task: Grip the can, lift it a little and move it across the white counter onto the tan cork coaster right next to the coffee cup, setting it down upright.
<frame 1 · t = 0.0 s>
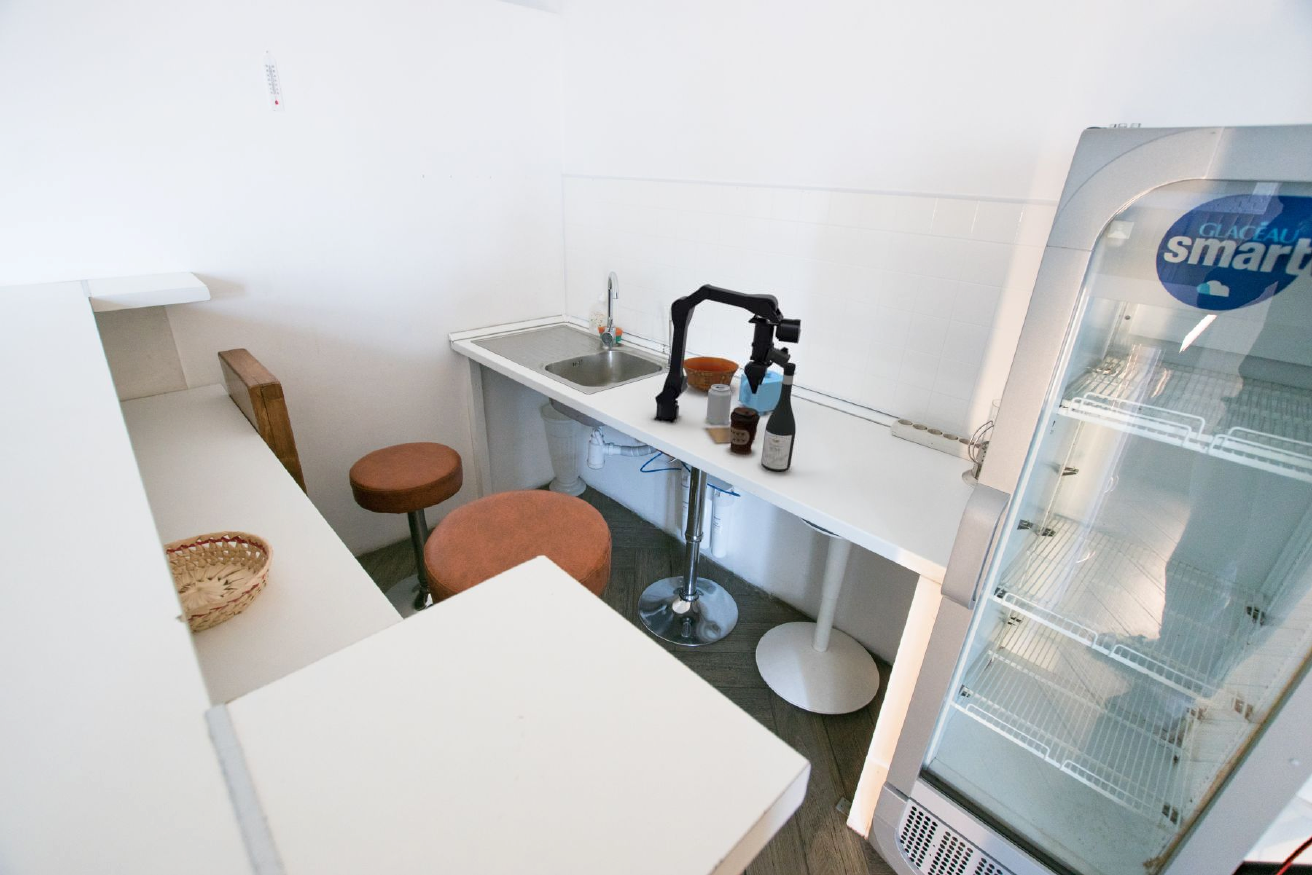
hand: (756, 389, 176), 15 cm above the counter, tool pointing down, fingers open, 9 cm apart
wine bottle: (775, 468, 161), on the counter
teapot: (766, 408, 202), on the counter
coaster: (728, 435, 179), on the counter
coffee cup: (740, 452, 169), on the counter
can: (717, 421, 190), on the counter
bowl: (708, 389, 219), on the counter
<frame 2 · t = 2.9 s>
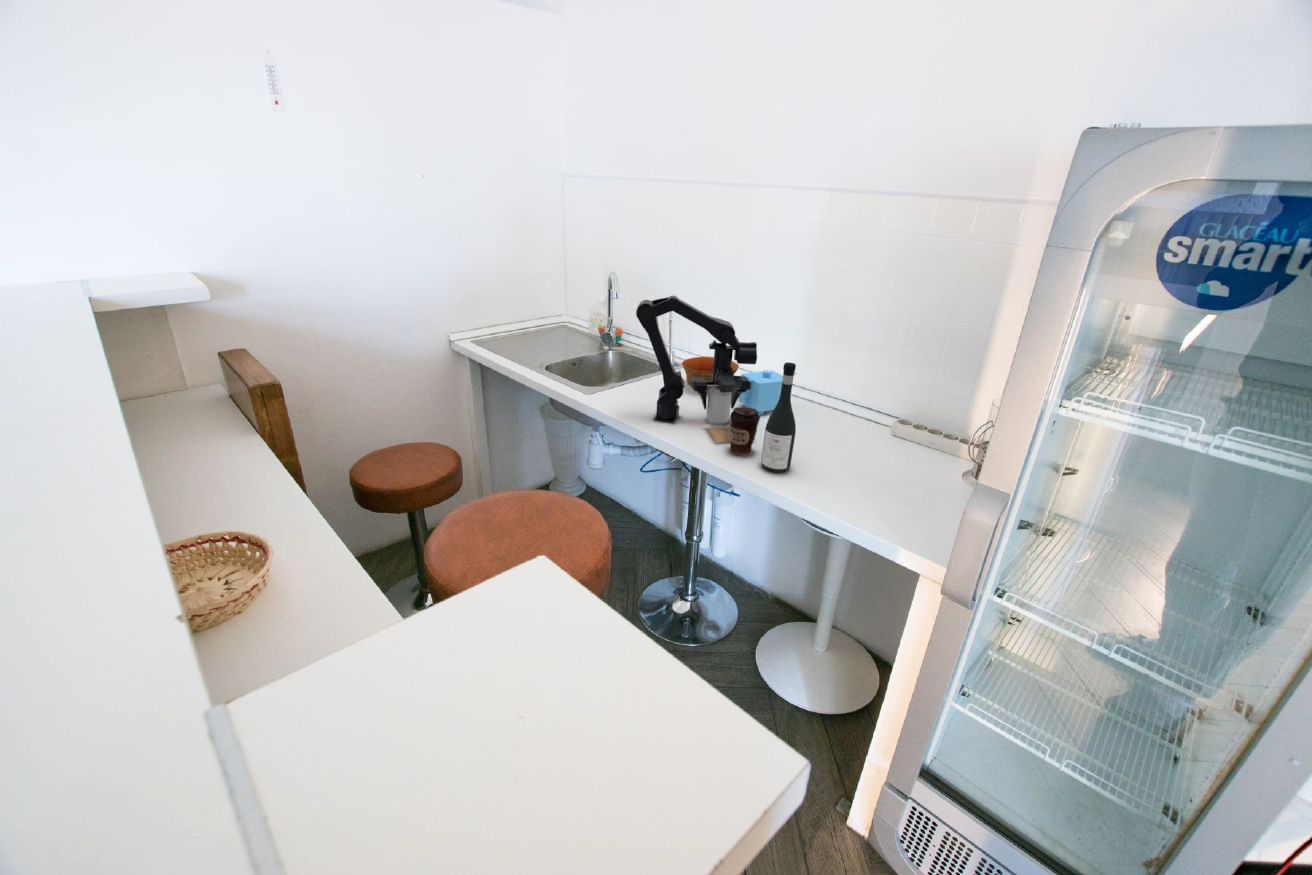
hand: (718, 408, 188), 4 cm above the counter, tool pointing down
can: (717, 421, 190), on the counter, touching gripper
everything else where it was.
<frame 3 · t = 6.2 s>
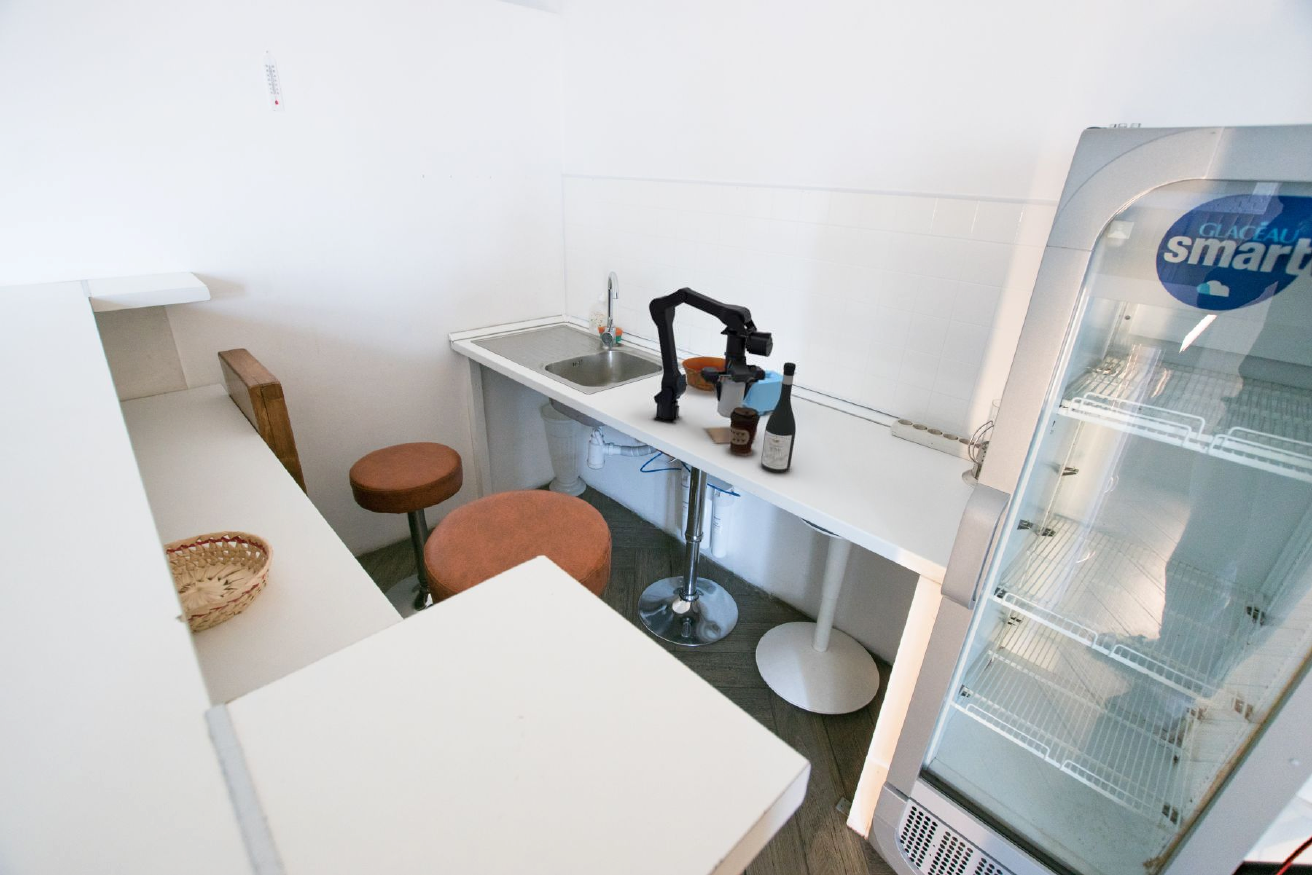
hand: (730, 400, 176), 11 cm above the counter, tool pointing down, fingers closed on can, 7 cm apart
can: (728, 415, 178), point 6 cm above the counter, touching gripper
everything else where it was.
when the fingers open (5 cm above the counter, at t = 9.4 s): can stays where it is, resting on coaster.
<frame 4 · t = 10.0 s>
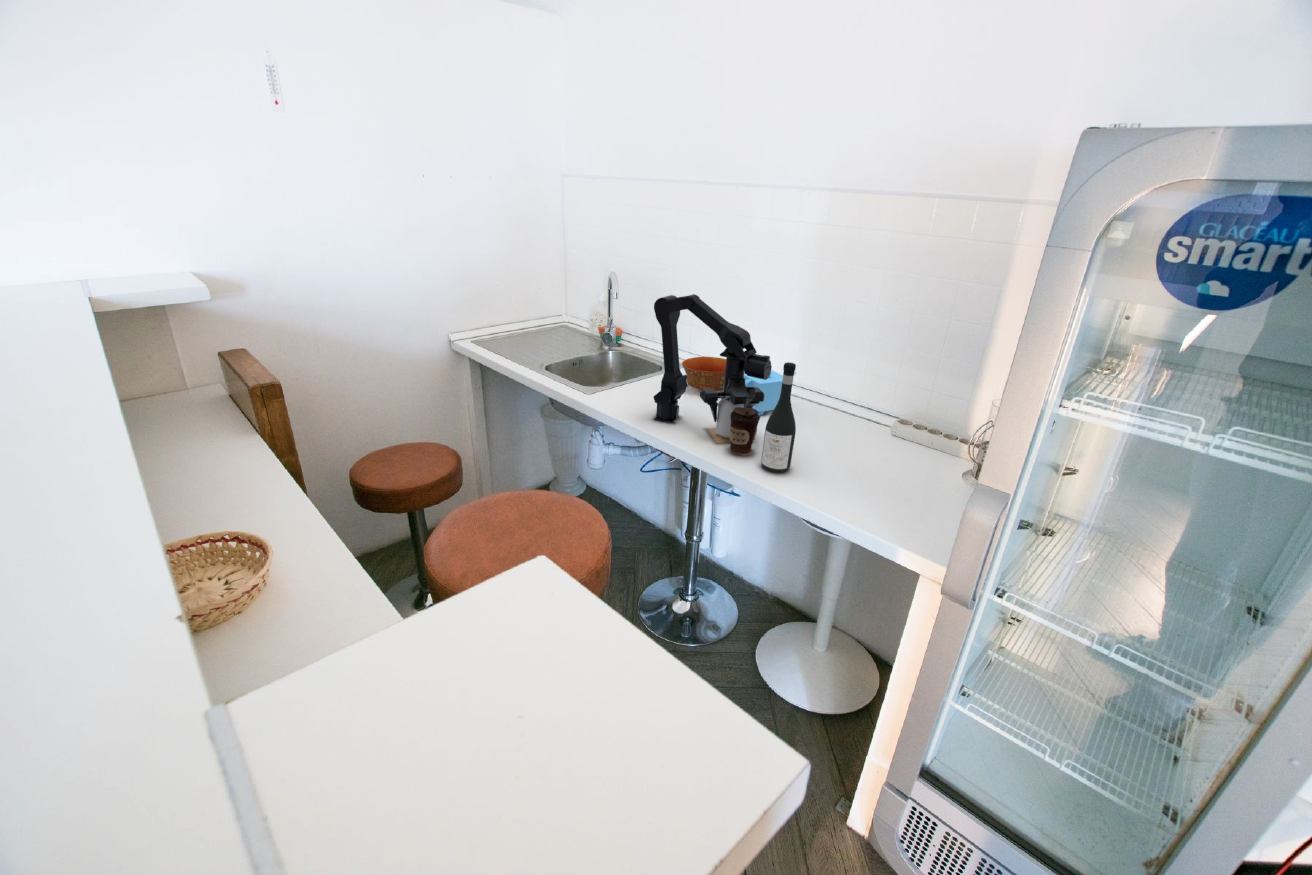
hand: (729, 421, 177), 5 cm above the counter, tool pointing down, fingers open, 9 cm apart
can: (727, 435, 179), resting on coaster
everything else where it was.
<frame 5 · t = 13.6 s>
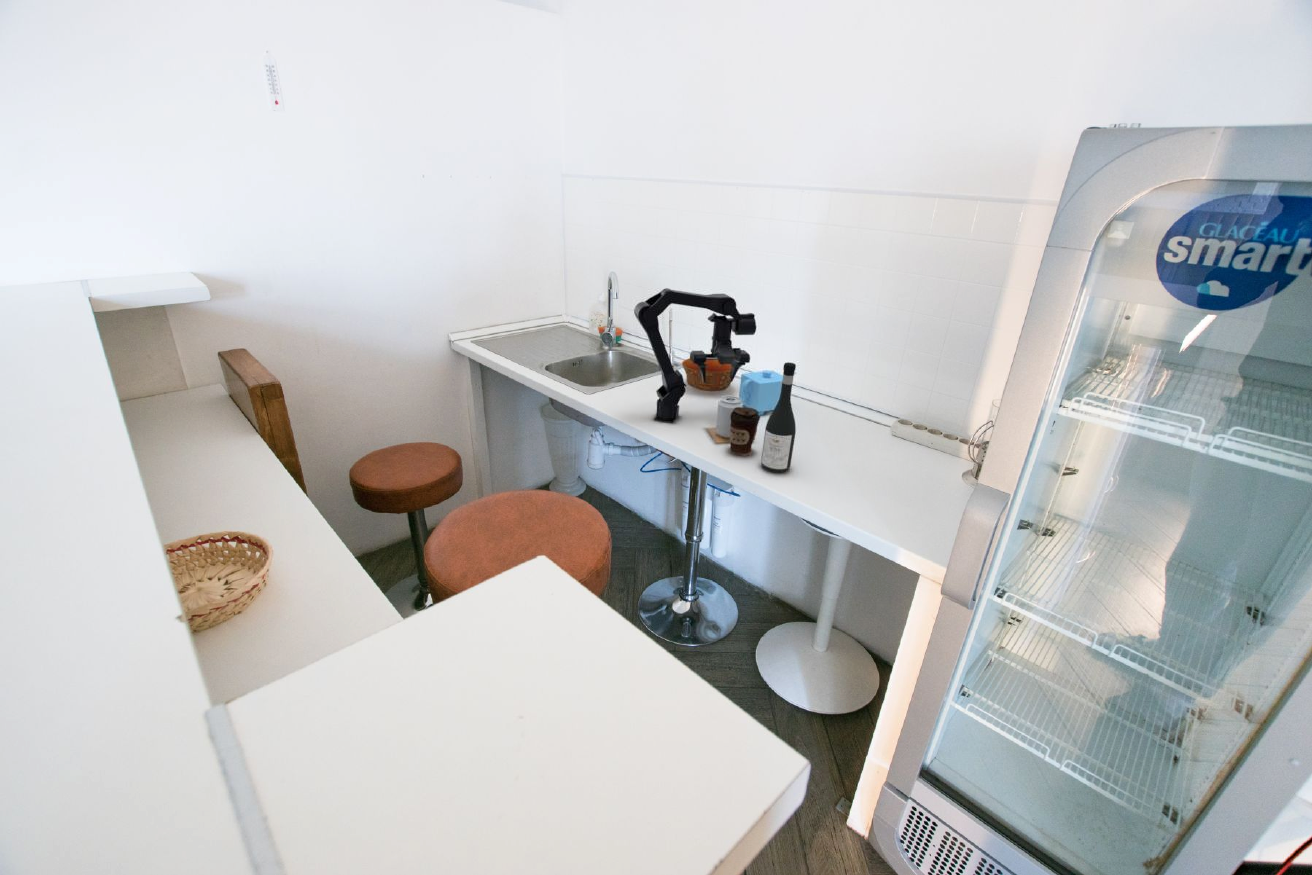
hand: (717, 382, 189), 12 cm above the counter, tool pointing down, fingers open, 9 cm apart
nothing on the counter moved.
at the end: can 11.9 cm from the coffee cup (horizontally); can inside the target area on the coaster (0.2 cm from its centre), point 0.0 cm above the coaster's base; can tilted 0° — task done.
